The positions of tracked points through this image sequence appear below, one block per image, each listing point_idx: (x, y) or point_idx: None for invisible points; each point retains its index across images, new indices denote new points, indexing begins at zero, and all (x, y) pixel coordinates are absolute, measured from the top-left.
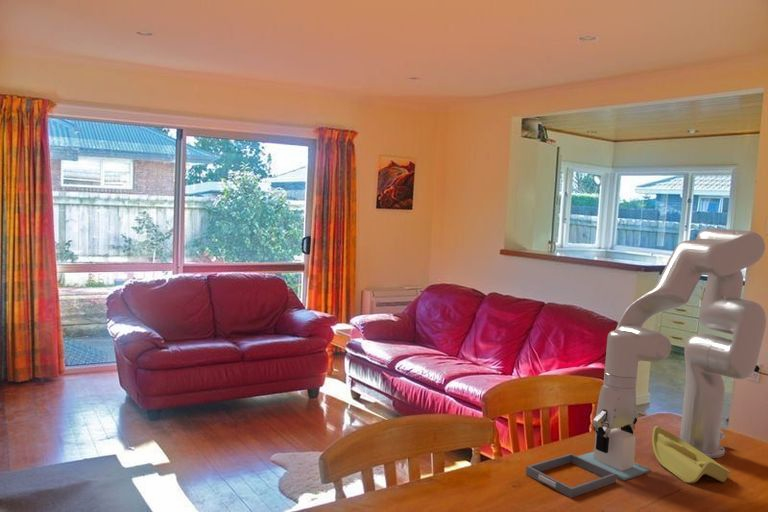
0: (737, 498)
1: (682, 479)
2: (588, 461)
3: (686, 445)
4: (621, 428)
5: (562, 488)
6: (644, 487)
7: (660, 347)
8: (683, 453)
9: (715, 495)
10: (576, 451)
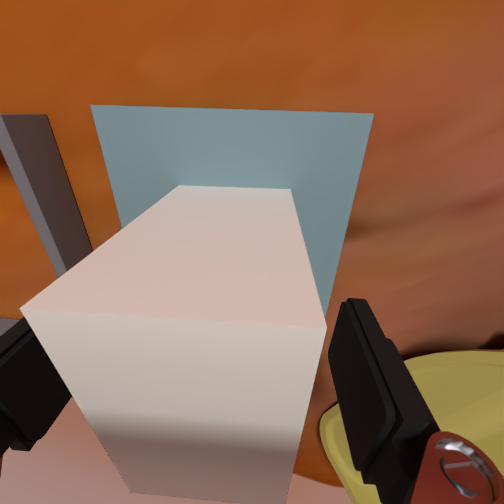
0: (334, 471)
1: (328, 413)
2: (54, 247)
3: None
4: (382, 413)
5: None
6: None
7: None
8: None
9: (308, 454)
10: (193, 7)
